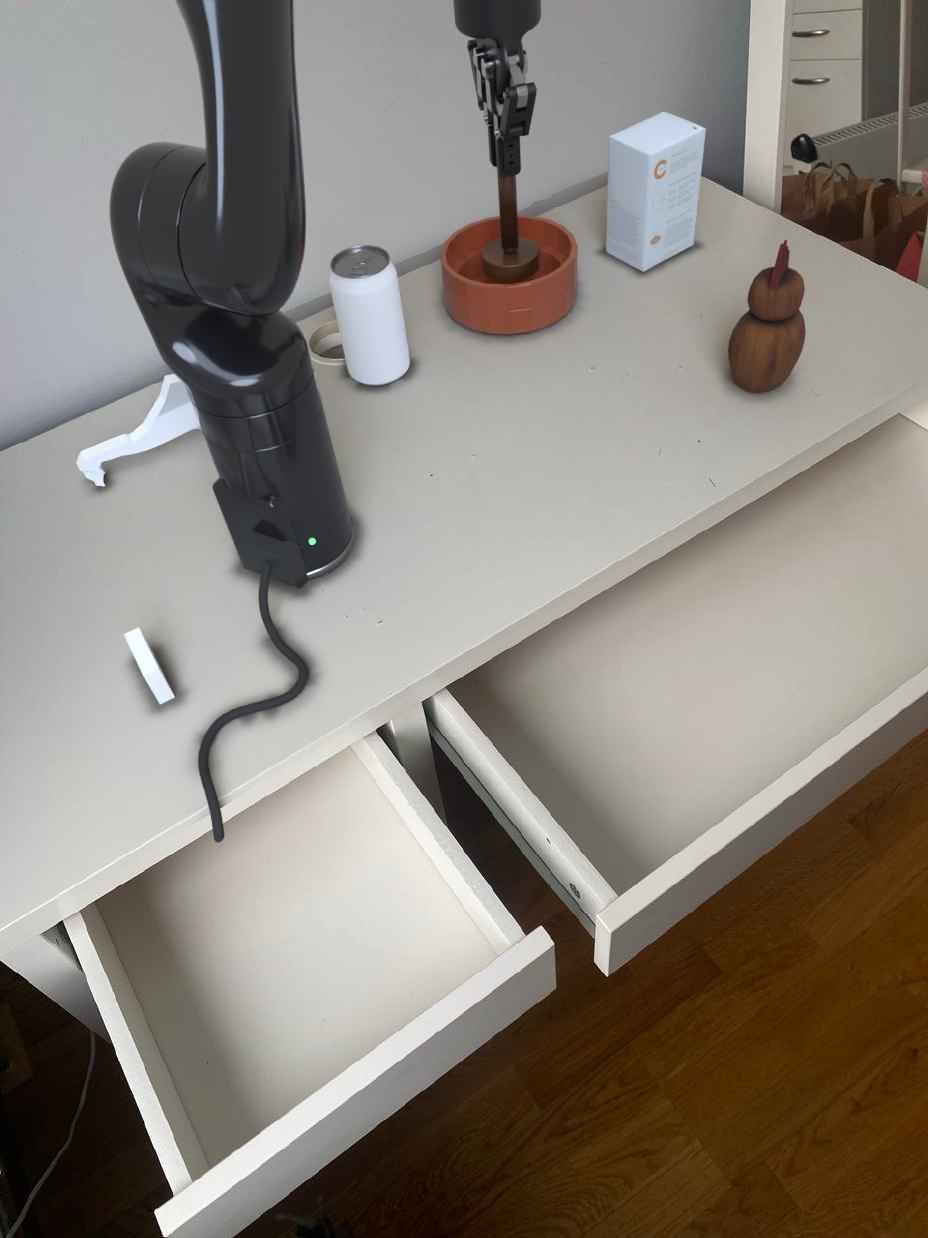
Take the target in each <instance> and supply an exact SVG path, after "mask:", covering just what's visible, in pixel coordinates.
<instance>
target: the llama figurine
mask: <svg viewBox="0 0 928 1238" xmlns="http://www.w3.org/2000/svg"><path fill="white" fill-rule="evenodd" d="M192 430H201V427H200V424H199V421H198V419H197V416H196V413H195V411H194V408H193V405H192V403H191V400H190V398H189V395H188V393H187V390H186V388H185V386H184V384H183V383H182V381H181V380H180V379H179V378H178V377H177V376H176V375H175V374H174V373H171V374H165V375H164V376H163V381H162V385H161V389H160V393H159V395H158V397H157V399H156V400H155V402H154V404H153V406H152V407H151V409H150V411H149V412H148V413H147V415H146V417H145V419H144V421H143V422H142V423H141V424H140V425H139V426H138V427H136V428H135V429H133V430H132V431H131V432H130V433H123V434H120V435H117V436H115V437H112V438H109V439H107V440H105V441H102V442H100V443H98V444H95V445H93V446H90V447H88V448H85V449H83V450H81V451H80V453H79V454H78V457H77V459H76V462H75V464H76V466H77V468H78V469H79V472H80V473H81V472H82V473H83V474H84V477H86V479H88V480H90V481H92V482H93V483H94V484H95V486H96V487H106V484H105V483H104V476H105V474H106V471H105V469H104V468H103V466H102V463H103V462H107V461H111V460H114V459H117V458H119V457H124V456H131V455H135V454H139V453H142V452H143V453H144V452H146V451H150V450H152V449H155V448H156V447H160V446H161V445H163V444H166V443H167V442H169V441H172V440H174V439H175V438H178V437H179V436H182V435H183V434H186V433H188V432H189V431H192Z"/></svg>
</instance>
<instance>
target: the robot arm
mask: <svg viewBox="0 0 928 1238" xmlns="http://www.w3.org/2000/svg"><path fill="white" fill-rule="evenodd" d="M174 1H175V4H176V6H177V8H178V11H179V14H180V15H181V17H182V20H183V22H184V25H185V27H186V31H187V33H188V36H189V39H190V41H191V42H190V43H191V46H192V49H193V53H194V57H195V61H196V67H197V71H198V79H199V83H200V91H201V92H200V93H201V100H202V101H201V102H202V110H203V111H202V113H203V122H204V141H205V142H204V143H205V147H201V146H195V145H191V144H190V145H189V144H185V143H180V142H179V143H178V142H170V141H156V142H150V143H145V144H144V145H141V146H139V147H138V148H136V149H133V151H132V152H130V153H129V154H128V155H127V156H126V157H125V158H124V159H123V161H122V162H121V164H120V165H119V167H118V169H117V171H116V173H115V176H114V177H113V181H112V184H111V189H110V197H109V206H108V207H109V209H108V211H109V225H110V232H111V237H112V242H113V246H114V250H115V255H116V257H117V261H118V263H119V265H120V268H121V270H122V273H123V276H124V278H125V281H126V283H127V285H128V287H129V290H130V293H131V294H132V296H133V298H134V301H135V303H136V305H137V308H138V309H139V312H140V314H141V316H142V319H143V321H144V323H145V325H146V327H147V330H148V331H149V334H150V336H151V338H152V340H153V343H154V345H155V347H156V349H157V351H158V352H159V353H158V354H159V355H160V357H161V359H162V360H163V362H164V364H165V365H166V366H167V368H168V369H169V370H170V371H171V372H172V374H175V375H176V376H177V377H178V378H179V379H180V380H181V381H182V383H183V384H184V386H185V388H186V390H187V393H188V395H189V398H190V400H191V403H192V405H193V408H194V411H195V413H196V416H197V419H198V421H199V424H200V427H201V429H200V430H201V433H202V435H203V437H204V441H205V442H206V445H207V448H208V450H209V454H210V456H211V458H212V461H213V464H214V467H215V469H216V473H217V474H218V478H217V479H216V480H215V481H214V482H213V484H212V485H211V487H212V491H213V494H214V497H215V499H216V502H217V504H218V506H219V509H220V511H221V514H222V516H223V519H224V522H225V524H226V527H227V529H228V532H229V534H230V537H231V541H232V542H233V545H234V548H235V550H236V552H237V555H238V557H239V560H240V562H241V565H242V568H244V569H247V570H249V571H252V572H254V573H257V574H259V575H260V578H259V586H258V608H259V613H260V617H261V621H262V623H263V625H264V627H265V630H266V632H267V635H268V636H269V638H270V640H271V642H272V643H273V645H274V646H275V648H276V649H277V650H278V651H279V652H280V653H281V654H282V655H283V656H284V657H285V658H287V659H288V660H289V661H290V662H292V664H294V666H295V667H296V668H297V671H298V678H297V679H296V682H295V683H294V685H293V686H292V687H291V688H290V689H289V690H287V691H286V692H284V693H282V694H279V695H277V696H274V697H271V698H267V699H264V700H259V701H256V702H252V703H248V704H245V705H241V706H238V707H235V708H232V709H230V710H229V711H227V712H224V713H223V714H222V715H220V716H219V717H217V718H216V719H215V720H214V721H213V722H212V724H211V725H210V726H209V727H208V729H207V731H206V732H205V733H204V735H203V738H202V740H201V743H200V746H199V749H198V755H197V765H198V766H197V767H198V773H199V777H200V781H201V785H202V788H203V791H204V792H203V793H204V794H205V798H206V802H207V806H208V810H209V815H210V821H211V827H212V834H213V840H214V842H215V843H221V842H223V840H224V839H225V829H224V827H225V826H224V822H223V821H224V820H223V816H222V815H223V814H222V810H221V806H220V800H219V798H218V793H217V791H216V787H215V785H214V780H213V778H212V773H211V770H210V763H209V755H210V750H211V746H212V745H213V741H214V740H215V739H216V736H217V734H218V733H219V732H220V731H221V730H222V729H223V727H225V726H226V725H227V724H228V723H230V722H232V721H234V720H236V719H239V718H241V717H244V716H248V715H251V714H254V713H258V712H263V711H267V710H271V709H274V708H278V707H281V706H283V705H285V704H288V703H289V702H291V701H293V700H294V699H296V698H297V697H298V696H299V695H300V694H301V693H303V690H304V689H305V687H306V685H307V683H308V679H309V668H308V665H307V664H306V662H305V660H304V659H303V658H302V657H301V656H300V655H299V654H297V652H295V651H294V649H292V648H291V647H290V646H288V645H287V643H285V641H283V638H282V637H281V636H280V634H279V632H278V631H277V628H276V626H275V624H274V621H273V619H272V617H271V613H270V607H269V585H270V579H271V580H273V581H278V582H280V583H282V584H286V585H287V586H290V587H293V588H295V589H302V588H303V587H304V586H305V585H306V583H308V582H309V581H310V580H313V579H317V578H319V577H322V576H324V575H327V574H328V573H329V572H331V571H334V569H336V568H337V567H339V566H340V565H341V564H342V563H343V562H345V560H346V559H347V558H348V557H349V555H350V554H351V552H352V550H353V547H354V545H355V541H356V529H355V526H354V521H353V519H352V517H351V514H350V510H349V505H348V501H347V497H346V493H345V489H344V485H343V482H342V477H341V473H340V470H339V466H338V462H337V457H336V453H335V449H334V445H333V442H332V437H331V433H330V429H329V424H328V421H327V416H326V413H325V409H324V405H323V400H322V396H321V392H320V388H319V384H318V380H317V376H316V375H317V374H316V372H315V368H314V367H315V366H314V363H313V359H312V354H311V351H310V347H309V343H308V341H307V337H306V336H305V334H304V332H303V330H302V328H301V327H300V326H299V325H298V324H297V322H295V321H294V320H293V319H292V318H291V317H289V316H288V315H287V314H285V313H284V312H282V311H281V309H282V308H283V307H284V306H285V305H286V304H287V303H288V301H289V300H290V298H291V296H292V295H293V294H294V292H295V290H296V287H297V285H298V282H299V279H300V277H301V272H302V268H303V262H304V258H305V253H306V251H305V250H306V237H307V201H306V200H307V199H306V187H305V186H306V184H305V169H304V159H303V145H302V144H303V143H302V134H301V133H302V131H301V119H300V118H301V117H300V106H299V105H300V104H299V92H298V79H297V65H296V64H297V63H296V39H295V38H296V37H295V36H296V35H295V33H296V32H295V0H174ZM452 1H453V2H452V3H453V15H454V24H455V27H456V29H457V30H458V32H459V33H461V34H462V35H463V36H466V37H469V38H471V39H469V40H467V45H466V49H467V52H468V55H469V62H470V67H471V72H472V78H473V82H474V89H475V93H476V99H477V107H478V108H479V111H480V112H481V111H482V112H483V121H484V123H485V125H486V126H487V138H488V139H487V140H488V153H489V154H488V155H489V156H488V157H489V161H490V164H491V165H492V166H493V167H494V168H496V173H497V172H498V174H499V175H500V176H501V177H502V178H505V177H509V176H513V175H516V176H517V175H518V174H520V173H521V171H522V161H521V159H522V157H521V138H520V137H526V136H529V134H530V130H531V124H532V120H533V114H534V109H535V104H536V99H537V91H538V89H537V86H536V83H535V82H534V81H531V82H530V81H529V82H527V80H526V77H527V76H526V75H527V73H528V70H529V64H528V63H529V61H528V54H527V51H526V49H524V47H523V45H524V44H523V43H522V40H523V38H524V36H525V35H526V34H527V33H528V32H529V31H531V30H534V28H536V27H537V26H538V24H539V23H540V21H541V18H542V0H452Z"/></svg>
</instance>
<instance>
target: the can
mask: <svg viewBox="0 0 928 1238" xmlns="http://www.w3.org/2000/svg"><path fill="white" fill-rule="evenodd" d="M329 267H330V273H329V278H328V282H329V288H330V289H329V290H330V295H331V299H332V303H333V308H334V314H335V317H336V321H337V327H338V331H339V336H340V340H341V346H342V350H343V354H344V359H345V363H346V368H347V372H348V374H349V376H350V377H351V378H352V379H353V380H355V382H357V383H359V384H361V385H364V386H369V387H380V386H385V385H386V386H387V385H390V384H392V383H394V382H397V381H398V380H400V379H401V378H402V377H403V376H404V375H405V374H406V372H407V371H408V370H409V368H410V365H411V357H410V352H409V344H408V343H409V342H408V336H407V331H406V330H407V329H406V324H405V317H404V309H403V305H402V304H403V303H402V298H401V292H400V285H399V278H398V272H397V269H396V267H395V265H394V264H393V262H392V261H391V256H390V254H389V252H388V251H387V250H386V249H385V248H382V247H381V246H377V245H372V244H370V245H369V244H361V245H355V246H354V245H353V246H351V247H347V248H345V249H342V250H341V251H339V252H337V253H336V254H335V255H334V256H333V257H332V258H331V260H330V263H329Z"/></svg>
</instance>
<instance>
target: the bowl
mask: <svg viewBox="0 0 928 1238" xmlns="http://www.w3.org/2000/svg"><path fill="white" fill-rule="evenodd" d="M517 216H518V236H520V237H525V238H528V239H531V240H533V241H534V242H535V243H536V244H537V245H538V247H539V268H538V270H537V271H536V273H535V274H533V275H532V276H530V277H528V278H526V279H523V280H520V281H513V282H503V281H497V280H494V279H492V278H490V277H488V276H487V275H486V274H485V273H484V271H483V263H482V250H483V248H484V247H485V246H486V245H487V244H488V243H489V242H491V241H493V240H495V239H498V238H501V229H500V215H498V216H490V217H486V218H483V219H480V220H476V221H474V222H471V223H468V224H467V225H464V226H462V227H461V228H458V229H457V230H456V231H453V233H452V234H451V235H450V236H449V237H448V238H446V240H445V241H444V242H443V245H442V246H441V250H440V252H439V259H440V260H439V261H440V269H441V277H442V278H441V279H442V288H443V296H444V303H445V308H446V311H447V312H448V313H449V314H450V316H451V318H453V319H454V320H455V321H456V322H458V323H459V324H461V325H463V326H464V327H466V328H468V329H471V330H474V331H477V332H478V331H479V332H483V333H486V334H495V335H496V334H497V335H498V334H499V335H514V334H522V333H529V332H533V331H536V330H538V329H539V330H540V329H542V328H544V327H547V326H550V325H552V324H554V323H555V322H557V321H558V320H561V318H564V317H565V316H566V315H567V314H568V313H569V311H570V310H571V309H572V307H573V306H574V305H575V304H576V300H577V294H578V249H579V248H578V243H577V241H576V237H575V235H574V234H573V232H571V231H570V230H569V229H568V228H566V227H565V226H564V225H563V224H561V223H558V222H556V221H554V220H551V219H549V218H547V217H546V218H545V217H540V216H534V215H528V214H517Z"/></svg>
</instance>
